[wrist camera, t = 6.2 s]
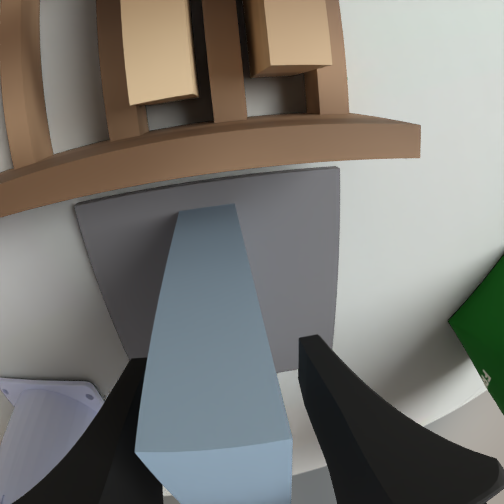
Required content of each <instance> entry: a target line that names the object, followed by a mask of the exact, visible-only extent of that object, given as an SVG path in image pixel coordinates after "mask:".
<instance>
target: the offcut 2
mask: <svg viewBox="0 0 504 504" xmlns="http://www.w3.org/2000/svg"><path fill="white" fill-rule="evenodd" d="M242 2H243V11H244V21H245V30H246V40H247V50H248V59H249V69H250V78H260V77H278V76H294V75H298V74H301V73H305V72H308V71H312V70H315V69H319V68H323V67H327V66H331V65H332V55H331V45H330V36H329V27H328V18H327V11H326V3H325V0H242Z"/></svg>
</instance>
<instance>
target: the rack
mask: <svg viewBox="0 0 504 504" xmlns="http://www.w3.org/2000/svg"><path fill="white" fill-rule="evenodd" d="M325 3H326V11H327V18H328V27H329V36H330V45H331V55H332V65H331V66H327V67H323V68H319V69H315V70H312V71H308V72H305V73H304V82H305V95H306V109H307V113H292V114H276V115H262V116H251V117H247V108H246V98H245V88H244V78H243V68H242V58H241V48H240V39H239V29H238V19H237V10H236V0H202V10H203V21H204V31H205V41H206V51H207V61H208V71H209V80H210V89H211V98H212V107H213V116H214V121H207V122H200V123H193V124H187V125H181V126H174V127H169V128H163V129H158V130H152V131H149V127H148V120H147V113H146V106H145V105H130V103H129V96H128V87H127V79H126V70H125V59H124V48H123V36H122V21H121V1H120V0H96V14H97V35H98V49H99V61H100V71H101V81H102V89H103V97H104V105H105V112H106V119H107V126H108V132H109V138H110V140H106V141H102V142H98V143H94V144H90V145H86V146H82V147H78V148H75V149H71V150H68V151H64V152H61V153H57V154H54V155H53V150H52V145H51V139H50V134H49V128H48V121H47V115H46V107H45V100H44V91H43V81H42V70H41V55H40V25H39V15H40V0H1V6H0V75H1V89H2V99H3V108H4V116H5V123H6V129H7V135H8V141H9V147H10V152H11V157H12V162H13V167H14V168H12V169H9V170H6V171H4V172H1V173H0V217H4V216H7V215H11V214H14V213H18V212H22V211H25V210H29V209H33V208H37V207H41V206H45V205H49V204H53V203H57V202H61V201H65V200H69V199H74V198H78V197H82V196H87V195H92V194H96V193H101V192H106V191H111V190H116V189H121V188H126V187H131V186H136V185H142V184H147V183H153V182H159V181H165V180H171V179H177V178H183V177H190V176H197V175H203V174H211V173H218V172H226V171H233V170H242V169H250V168H259V167H269V166H279V165H289V164H301V163H313V162H327V161H343V160H362V159H390V158H420V142H421V125H417V124H412V123H407V122H402V121H397V120H391V119H386V118H380V117H374V116H367V115H360V114H353V113H349V102H348V86H347V72H346V60H345V49H344V40H343V31H342V22H341V14H340V7H339V0H325Z"/></svg>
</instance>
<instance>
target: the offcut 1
mask: <svg viewBox="0 0 504 504" xmlns="http://www.w3.org/2000/svg"><path fill="white" fill-rule="evenodd" d="M120 1H121V21H122V36H123V48H124V59H125V70H126V79H127V87H128V96H129V103H130V105H157V104H163V103H168V102H174V101H180V100H186V99H193V98H199V97H200V96H199V87H198V78H197V69H196V59H195V49H194V39H193V29H192V18H191V7H190V0H120Z"/></svg>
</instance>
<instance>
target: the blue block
mask: <svg viewBox="0 0 504 504" xmlns="http://www.w3.org/2000/svg"><path fill="white" fill-rule="evenodd" d="M292 444H293V438H292V434H291V430H290V426H289V422H288V418H287V414H286V410H285V406H284V402H283V398H282V394H281V390H280V386H279V382H278V378H277V374H276V370H275V366H274V362H273V358H272V354H271V350H270V346H269V342H268V338H267V334H266V330H265V326H264V322H263V318H262V314H261V310H260V306H259V301H258V297H257V293H256V289H255V285H254V281H253V277H252V273H251V269H250V265H249V261H248V256H247V252H246V248H245V244H244V240H243V236H242V232H241V228H240V224H239V219H238V215H237V211H236V207H235V203H234V204H226V205H219V206H211V207H204V208H197V209H190V210H184V211H179V214H178V218H177V222H176V226H175V230H174V234H173V238H172V242H171V246H170V250H169V255H168V259H167V263H166V268H165V272H164V276H163V281H162V286H161V290H160V295H159V300H158V305H157V310H156V315H155V320H154V325H153V330H152V335H151V341H150V346H149V352H148V358H147V364H146V370H145V376H144V383H143V389H142V396H141V403H140V410H139V418H138V426H137V434H136V443H135V453H136V455H137V456H138V457H139V458H140V460H141V461H142V462H143V463H144V464H145V465H146V467H147V468H148V469H149V470H150V471H151V472H152V474H153V475H154V476H155V477H156V478H157V479H158V480H159V481H160V482H161V484H162V485H163V486H164V487H165V488H166V489H167V490H168V491H169V492H170V493H171V494H172V495H173V496H174V497H175V498H176V499H177V500H178V501H179V502H180V503H181V504H291V487H292V486H291V485H292Z"/></svg>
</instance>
